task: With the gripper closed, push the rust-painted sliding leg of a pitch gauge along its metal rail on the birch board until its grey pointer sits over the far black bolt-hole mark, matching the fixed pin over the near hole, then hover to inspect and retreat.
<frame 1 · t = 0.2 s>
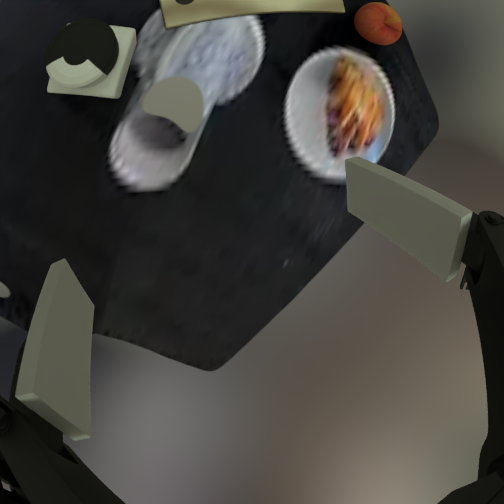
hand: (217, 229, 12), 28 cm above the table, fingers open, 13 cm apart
container: (99, 66, 27), on the table
apple: (361, 25, 34), on the table
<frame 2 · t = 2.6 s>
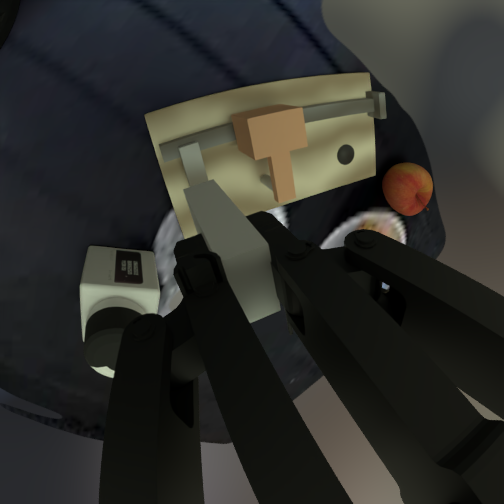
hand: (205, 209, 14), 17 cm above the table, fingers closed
container: (118, 275, 32), on the table
apple: (388, 178, 40), on the table
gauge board: (279, 142, 31), on the table
sliding leg: (270, 152, 26), point 4 cm above the table, slide at 0.0 cm
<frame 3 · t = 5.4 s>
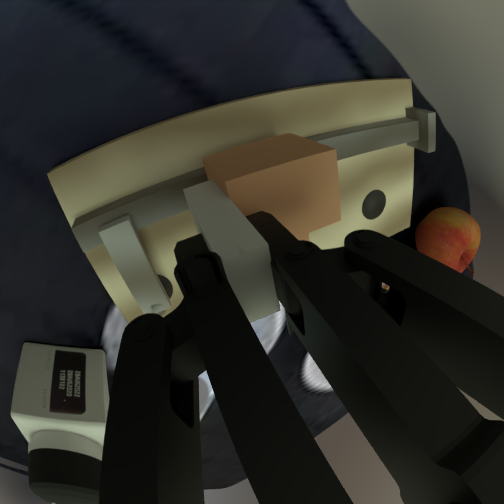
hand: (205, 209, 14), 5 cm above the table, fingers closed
container: (68, 370, 22), on the table
apple: (422, 224, 29), on the table
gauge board: (274, 194, 20), on the table
sliding leg: (273, 223, 16), point 5 cm above the table, slide at 1.0 cm, touching gripper
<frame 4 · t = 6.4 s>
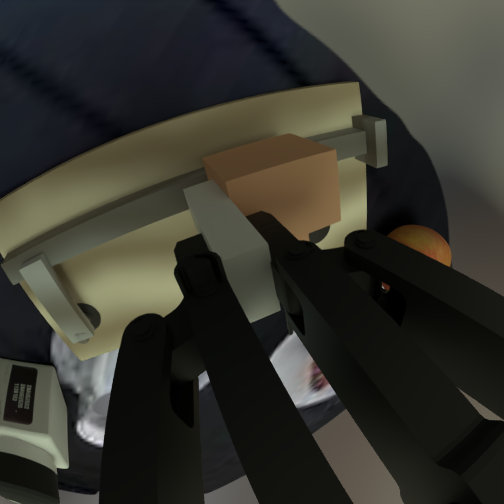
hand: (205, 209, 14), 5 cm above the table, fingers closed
container: (28, 382, 21), on the table
apple: (386, 243, 28), on the table
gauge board: (194, 223, 19), on the table
sliding leg: (273, 223, 16), point 5 cm above the table, slide at 6.8 cm, touching gripper
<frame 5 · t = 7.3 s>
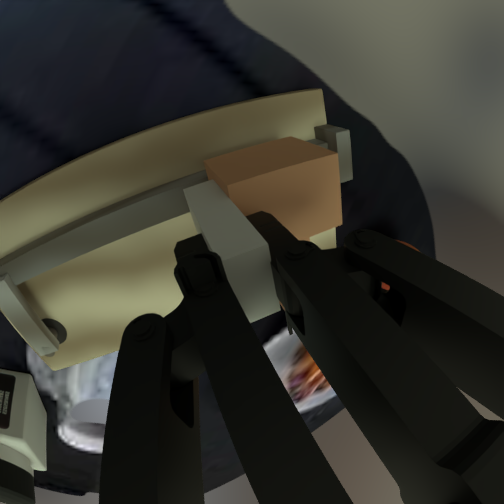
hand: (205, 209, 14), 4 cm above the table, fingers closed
container: (9, 388, 20), on the table
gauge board: (150, 242, 19), on the table
sliding leg: (274, 227, 16), point 5 cm above the table, slide at 10.0 cm, touching gripper
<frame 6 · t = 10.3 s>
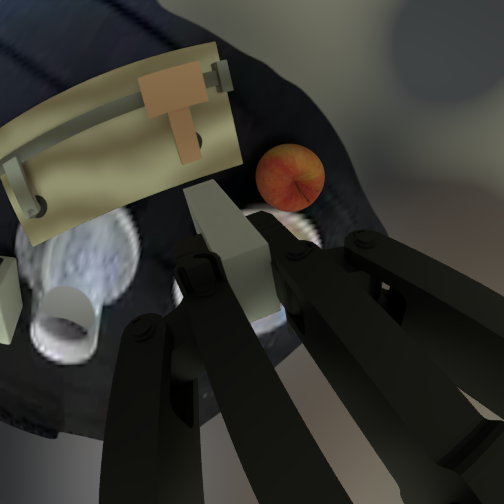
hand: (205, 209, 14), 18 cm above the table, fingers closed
apple: (273, 167, 34), on the table
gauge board: (108, 141, 26), on the table
sliding leg: (176, 114, 23), point 4 cm above the table, slide at 10.2 cm
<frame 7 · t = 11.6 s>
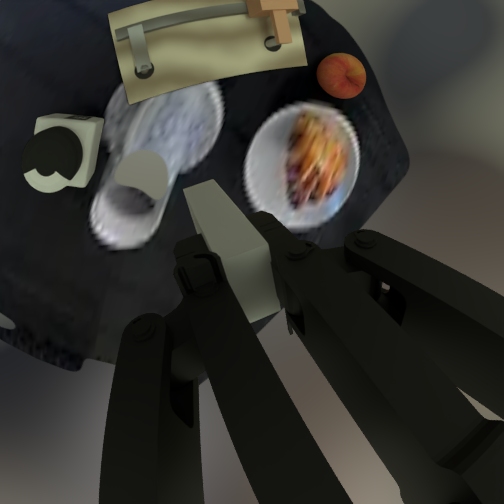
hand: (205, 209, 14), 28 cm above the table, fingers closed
container: (74, 142, 33), on the table
apple: (325, 75, 40), on the table
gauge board: (211, 33, 31), on the table
sliding leg: (272, 17, 29), point 5 cm above the table, slide at 10.2 cm
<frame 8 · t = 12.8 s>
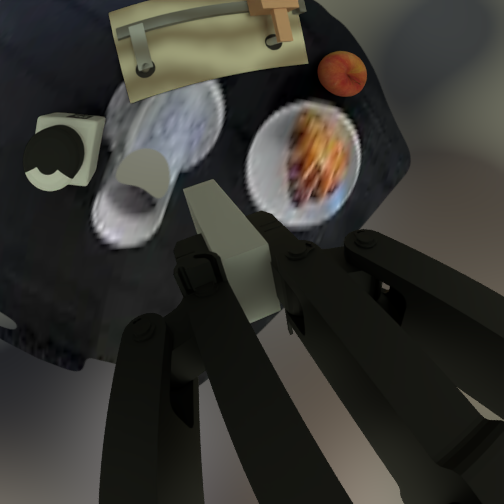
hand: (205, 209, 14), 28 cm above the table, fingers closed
container: (75, 141, 33), on the table
apple: (326, 73, 40), on the table
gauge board: (212, 32, 31), on the table
sliding leg: (273, 16, 29), point 5 cm above the table, slide at 10.2 cm
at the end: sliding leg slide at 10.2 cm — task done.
